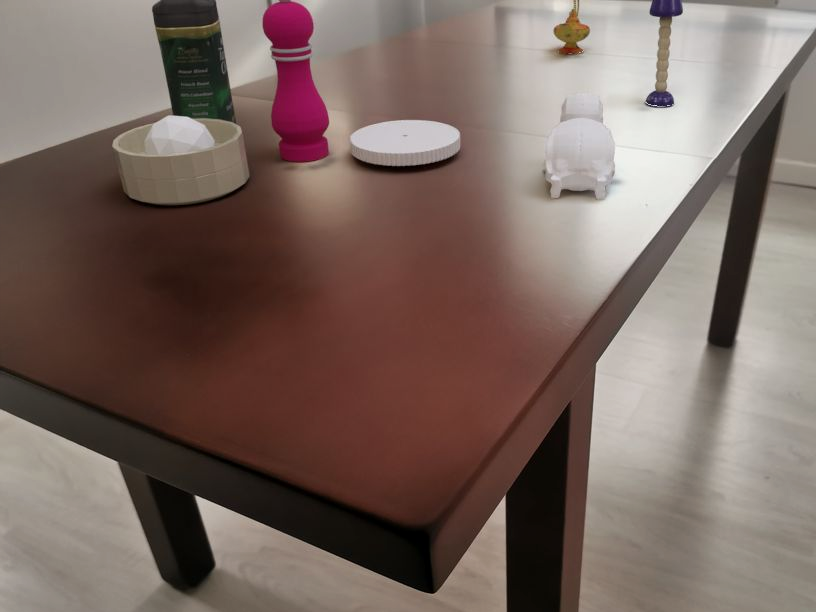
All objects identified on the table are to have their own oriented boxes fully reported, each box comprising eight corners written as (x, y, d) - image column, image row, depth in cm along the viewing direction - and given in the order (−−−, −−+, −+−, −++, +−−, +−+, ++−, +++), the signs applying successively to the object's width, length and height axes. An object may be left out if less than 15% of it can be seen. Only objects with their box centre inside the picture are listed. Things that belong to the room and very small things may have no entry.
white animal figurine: (614, 221, 92) (615, 135, 100) (620, 163, 85) (621, 76, 94) (538, 218, 93) (546, 134, 101) (539, 161, 86) (547, 75, 95)
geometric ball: (193, 196, 99) (206, 133, 99) (219, 189, 92) (232, 122, 93) (130, 177, 94) (143, 111, 94) (152, 168, 88) (166, 98, 88)
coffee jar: (234, 144, 109) (208, -5, 99) (174, 147, 108) (141, -2, 98) (241, 123, 117) (218, -16, 107) (185, 127, 116) (157, -13, 106)
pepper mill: (295, 167, 100) (271, -6, 90) (266, 154, 105) (240, -13, 94) (343, 154, 104) (326, -14, 94) (313, 142, 109) (294, -20, 98)
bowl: (99, 201, 92) (84, 150, 89) (173, 161, 103) (163, 114, 100) (206, 214, 88) (195, 161, 85) (271, 171, 99) (264, 122, 96)
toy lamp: (652, 109, 119) (665, -14, 110) (634, 102, 123) (645, -18, 114) (679, 105, 121) (693, -16, 112) (661, 98, 124) (673, -20, 115)
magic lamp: (542, 63, 145) (544, -3, 140) (559, 42, 160) (561, -18, 154) (580, 65, 144) (583, -2, 138) (594, 44, 158) (597, -17, 153)
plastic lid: (331, 166, 100) (329, 147, 99) (381, 134, 111) (380, 116, 110) (434, 179, 96) (433, 158, 94) (476, 144, 107) (476, 125, 105)
